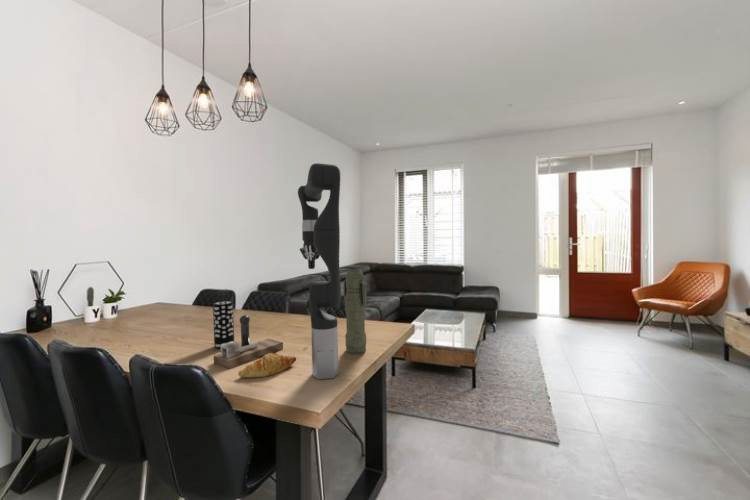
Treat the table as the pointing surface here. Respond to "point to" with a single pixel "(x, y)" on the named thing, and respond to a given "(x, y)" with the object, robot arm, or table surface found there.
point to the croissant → (267, 366)
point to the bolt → (246, 335)
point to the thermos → (355, 311)
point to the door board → (244, 352)
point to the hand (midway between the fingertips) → (311, 268)
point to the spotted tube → (223, 323)
